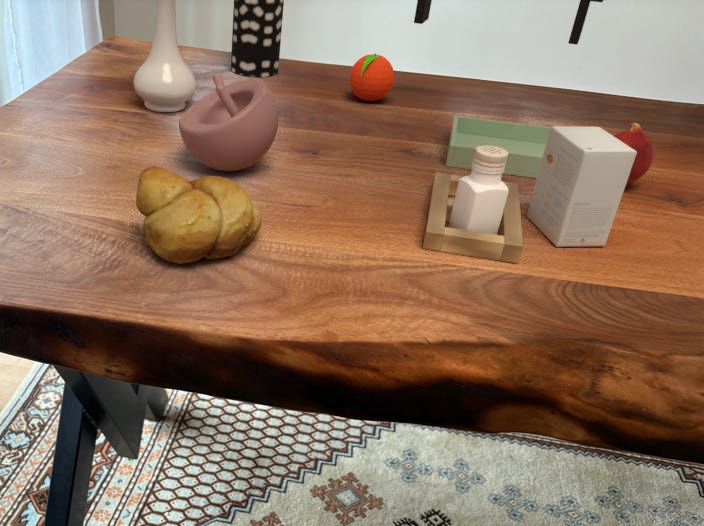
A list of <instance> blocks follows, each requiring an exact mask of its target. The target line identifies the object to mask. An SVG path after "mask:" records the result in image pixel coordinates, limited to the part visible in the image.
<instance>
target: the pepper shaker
mask: <svg viewBox="0 0 704 526" xmlns="http://www.w3.org/2000/svg"><path fill="white" fill-rule="evenodd" d="M508 154H509V153H508V152H507V151H506V150H505V149H502V148H500V147H495V146H486V145H484V146H478V147H477V148H476V150H475V154H474V158H473V162H472V170H470V174H468V175H463V176H464V177H462V178H461V179H459V182H458V187H457V191H456V195H455V196H454V199H453V200H454V204H453V208H452V213H451V217H450V221H449V222H448V228H455V229H461V230H468V231H474V232H481V233H487V234H494V235H498V232H499V225H500V221H501V218H502V214H503V210H504V207H505V203H506V199H507V195H508V187H507V186H506V185H505V183H504V182H505V181H502V177H503V174H502V173H503V172H504V169H505V165H506V162H507V158H508Z"/></svg>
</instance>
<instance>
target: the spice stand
mask: <svg viewBox="0 0 704 526" xmlns="http://www.w3.org/2000/svg"><path fill="white" fill-rule="evenodd" d="M464 176H465V175H461V174H460V175H459V174H453V173H445V172H440V171H439V172H438V171H436V172H435V173H434V177H433V178H434V179H433V182H432V183H433V184H432V188H431V195H430V200H429V207H428V212H427V218H426V225H425V231H424V235H423V242H422V249H424V250H429V251H434V252H435V251H436V252H440V253H441V252H442V253H448V254H455V255H461V256H467V257H473V258H479V259H486V260H492V261H498V262H505V263H511V264H516V265H517V264H519V263H520V259H521V256H522V253H523V249H524V240H523V225H522V213H521V199H520V188H519V186H520V185H519V183H517V182H510V181H503V182H504V183H505V185H506V186H507V187H508V195H507V199H506V203H505V207H504V210H503V214H502V218H501V221H500V225H499V229H498V232H499V234H497V235H494V234H487V233H481V232H474V231H468V230H461V229H455V228H449V226H448V227H447V226H446V222H448V223H449V221H450V217H451V213H452V208H453V204H454V200H455V199H453V198H449V196H451V197H455V195H456V191H457V187H458V182H459V179H461V178H462V177H464Z"/></svg>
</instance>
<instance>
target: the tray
mask: <svg viewBox="0 0 704 526" xmlns="http://www.w3.org/2000/svg"><path fill="white" fill-rule="evenodd" d="M551 127H552V126H545V125H544V126H543V125H538V124H528V123H522V122H521V123H520V122H513V121H512V122H511V121H505V120H497V119H488V118H480V117H473V116H463V115H456V114H454V115H453V120H452V123H451V129H450V133H449V140H448V146H447V153H446V161H445V166H446V167H450V168H457V169H465V170H470V171H472V162H473V158H474V154H475V150H476V148H477V147H478V146H484V145H486V146H495V147H500V148H502V149H505V150H506V151H507V152H508V153H509V154H508V158H507V162H506V165H505V169H504V172H503V173H502V175H509V176H516V177H523V178H531V179H537V176H538V172H539V168H540V165H541V161H542V158H543V154H544V150H545V147H546V143H547V139H548V136H549V132H550V129H551Z"/></svg>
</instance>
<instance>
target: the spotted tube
mask: <svg viewBox="0 0 704 526" xmlns="http://www.w3.org/2000/svg"><path fill="white" fill-rule="evenodd" d="M284 3H285V0H233V11H232V12H233V13H232V31H231V32H232V35H231V56H230V57H231V58H230V71H231V72H232V73H234V74H237V75H239V76H243V77H253V78H265V77H272V76H275V75H277V74H278V73H279V69H280V67H279V66H280V55H281V44H282V43H281V41H282V31H283V30H282V28H283V16H284V6H285V4H284Z"/></svg>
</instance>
